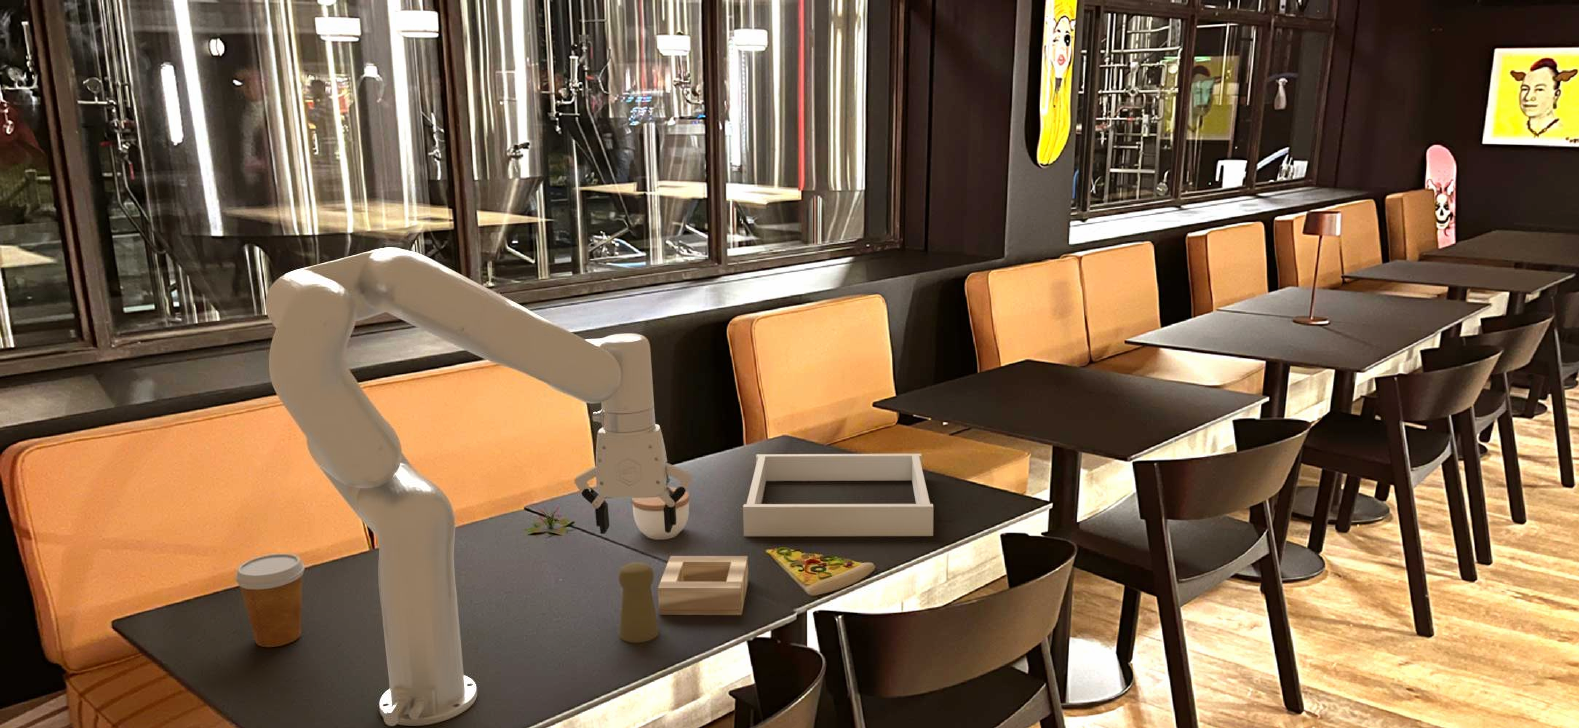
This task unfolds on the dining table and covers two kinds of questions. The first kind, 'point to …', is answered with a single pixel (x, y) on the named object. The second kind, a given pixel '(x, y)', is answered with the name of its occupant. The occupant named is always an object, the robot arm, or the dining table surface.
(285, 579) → the disposable coffee cup
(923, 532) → the white rectangular frame
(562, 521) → the lily flower
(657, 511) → the lidded jar
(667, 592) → the caddy
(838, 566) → the pizza slice
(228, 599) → the dining table surface
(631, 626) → the cork
